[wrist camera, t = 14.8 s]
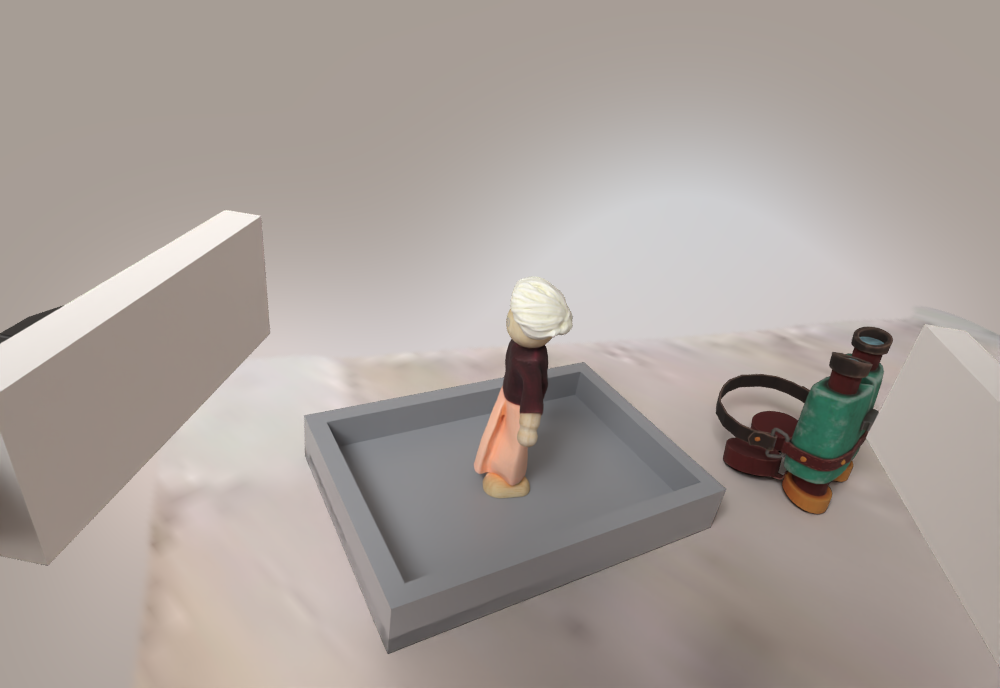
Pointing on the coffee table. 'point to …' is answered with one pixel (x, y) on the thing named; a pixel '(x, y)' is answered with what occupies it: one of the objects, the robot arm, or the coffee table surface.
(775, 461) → the binoculars
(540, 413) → the grandmother figurine
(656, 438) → the tray
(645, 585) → the coffee table surface
